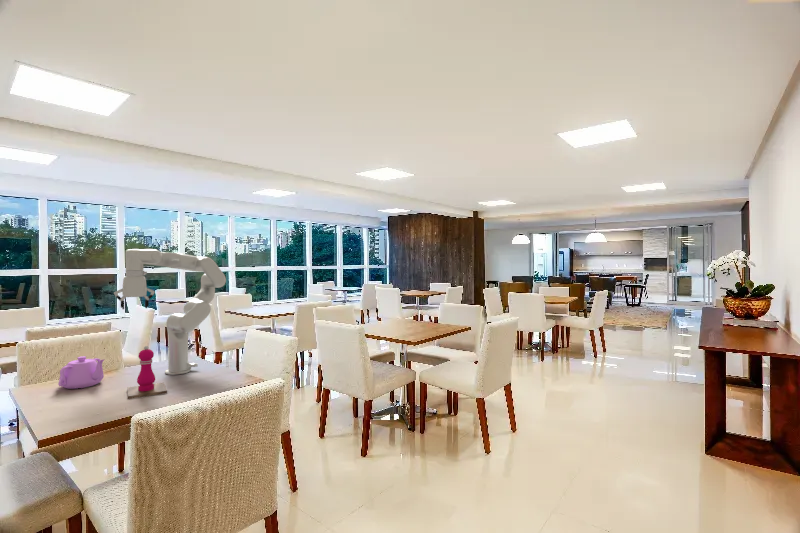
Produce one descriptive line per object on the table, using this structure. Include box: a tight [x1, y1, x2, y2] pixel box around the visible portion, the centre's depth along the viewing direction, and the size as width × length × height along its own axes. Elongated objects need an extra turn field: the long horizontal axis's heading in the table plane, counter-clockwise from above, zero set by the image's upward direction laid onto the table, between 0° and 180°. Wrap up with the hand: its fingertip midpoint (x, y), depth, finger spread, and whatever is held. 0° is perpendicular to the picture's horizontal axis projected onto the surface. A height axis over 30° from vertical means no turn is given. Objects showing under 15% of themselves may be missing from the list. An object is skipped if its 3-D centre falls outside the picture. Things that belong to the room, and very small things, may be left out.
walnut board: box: [127, 382, 168, 400], centre depth 196 cm, size 15×15×1 cm
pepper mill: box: [136, 345, 156, 391], centre depth 195 cm, size 7×7×20 cm
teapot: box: [57, 355, 105, 390], centre depth 205 cm, size 22×22×14 cm
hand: (134, 308), depth 212 cm, fingers open, 9 cm apart
